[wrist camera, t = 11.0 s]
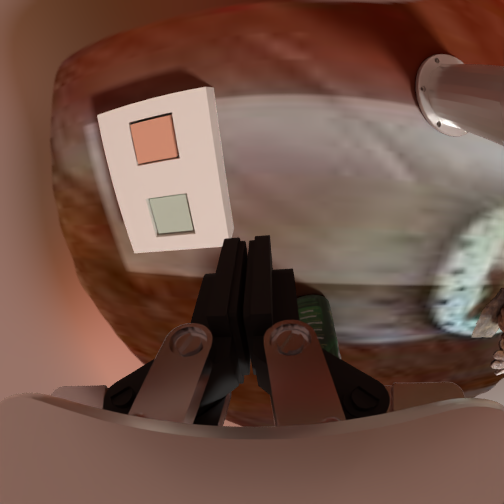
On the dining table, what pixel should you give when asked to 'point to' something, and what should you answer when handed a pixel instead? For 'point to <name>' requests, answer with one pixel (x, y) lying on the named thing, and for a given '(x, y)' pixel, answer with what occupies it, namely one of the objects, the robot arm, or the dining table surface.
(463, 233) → the dining table surface
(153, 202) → the sage button
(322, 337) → the coffee jar
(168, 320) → the dining table surface
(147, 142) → the terracotta button
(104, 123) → the button panel
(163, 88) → the dining table surface
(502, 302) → the cherub figurine
